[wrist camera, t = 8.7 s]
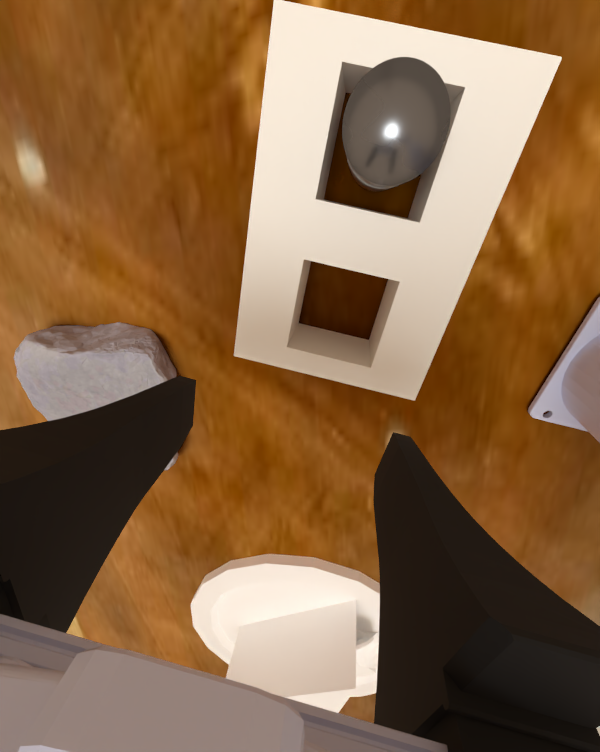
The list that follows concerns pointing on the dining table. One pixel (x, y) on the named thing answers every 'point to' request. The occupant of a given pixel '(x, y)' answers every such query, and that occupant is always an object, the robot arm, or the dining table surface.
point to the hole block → (367, 227)
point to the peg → (395, 123)
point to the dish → (293, 627)
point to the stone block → (89, 367)
